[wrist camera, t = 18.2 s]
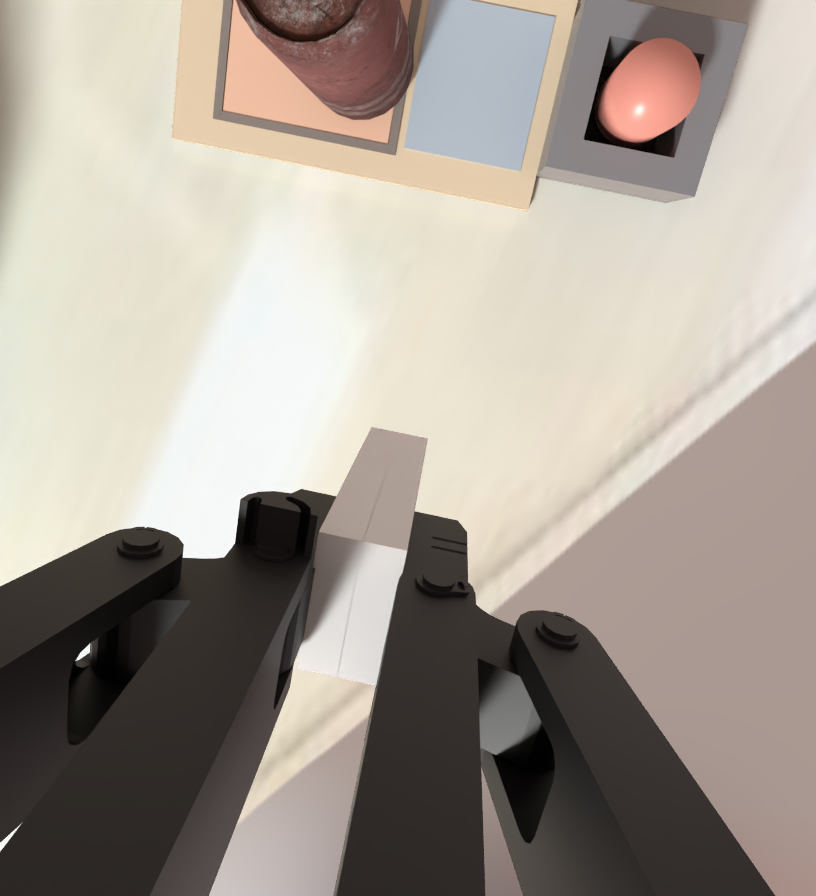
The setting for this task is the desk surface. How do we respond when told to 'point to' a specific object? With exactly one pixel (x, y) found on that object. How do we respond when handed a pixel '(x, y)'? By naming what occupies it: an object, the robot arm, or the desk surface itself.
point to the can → (339, 49)
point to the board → (412, 119)
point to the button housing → (607, 43)
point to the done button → (648, 92)
